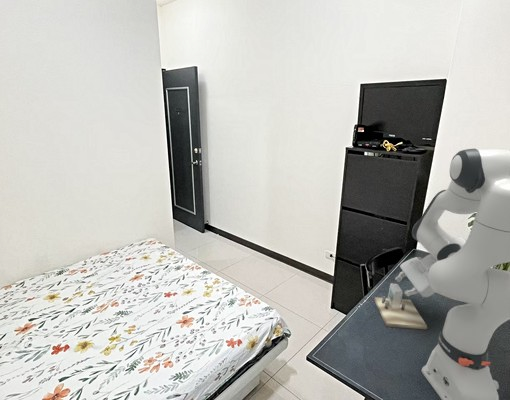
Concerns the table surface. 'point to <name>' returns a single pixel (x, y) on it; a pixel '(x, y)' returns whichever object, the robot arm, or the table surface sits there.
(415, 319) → the pin tray
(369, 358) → the table surface
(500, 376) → the table surface
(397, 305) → the drive
